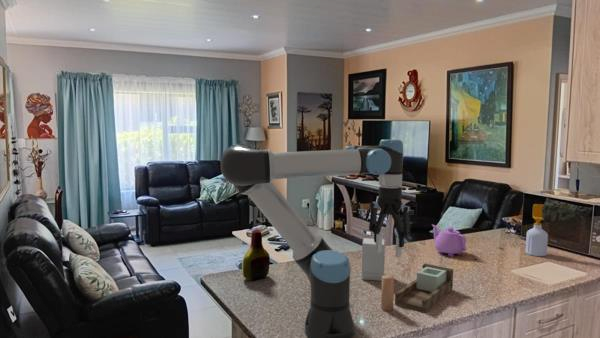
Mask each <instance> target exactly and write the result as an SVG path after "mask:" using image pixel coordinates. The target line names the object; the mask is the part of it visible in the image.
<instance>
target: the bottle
mask: <svg viewBox="0 0 600 338" xmlns="http://www.w3.org/2000/svg"><path fill="white" fill-rule="evenodd" d="M250 238H251V239H250V247H249V248H248V250H247V251H246V252H245V253H244V255H243V258H242V262H241V263H242V264H241V270H242V273H241V275H242V276H243V277H244V279H245V280H248V281H255V280H256V281H257V280H259V279H260V280H261V279H264V278H265V279H266V277H267V276H268V275H269V273H270V264H271V261H270V260H271V258H270V253H269V251H267V250H266V249H265V248H264V246H263V235H262V232H261V229H258V228H256V229H253V230H252V231H251V236H250Z"/></svg>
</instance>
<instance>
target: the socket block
mask: <svg viewBox="0 0 600 338" xmlns="http://www.w3.org/2000/svg"><path fill="white" fill-rule="evenodd" d="M446 272H447V271H445V270H441V269H436V268H431V267H425V268H423V267H422V268H421V269H420V270H419V271H417V273H416V279H417V287H416V288H417V289H421V290H425V291H429V292H433V291H435V290H436V289H437V288H439V287H440V286H441V285H442V284H444V283H445V282H446Z"/></svg>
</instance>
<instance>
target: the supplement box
mask: <svg viewBox="0 0 600 338" xmlns="http://www.w3.org/2000/svg"><path fill="white" fill-rule="evenodd" d="M385 248H386V240H385V239H383V238H382V252H380V253H376V243H375V242H374V238H367V237H366V238H365V237H364V238H363V240H362V251H361V253H362V254H361V280H366V281H376V282H377V281H380V282H382V276H384V275H385V259H386V258H385V257H386V256H385V255H386V254H385V253H386V249H385Z"/></svg>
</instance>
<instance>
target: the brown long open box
mask: <svg viewBox="0 0 600 338" xmlns="http://www.w3.org/2000/svg"><path fill="white" fill-rule="evenodd" d="M425 267H431V268H436V269H441V270H445V271H447V272H446V282H445V283H444V284H442V285H441V286H440V287H439V288H437V289H436V290H435V291H433V292H429V291H425V290H421V289H417V288H416V287H417V278H416V279H415V280H413V281H411V282H410V283H408V284H407V285H406V286H404V287H403V288H401V289H399V290H398V291H396V292H395V293H394V304H395V305H396V306H401V307H403V308H407V309H411V310H415V311H418V312H422V313H427V312H428V311H429V310H430V309H432V308H433V307H434V306H435V305H436V304H438V303H439V302H440V301H441V300H442V299H444V298H445V297H446V296H447V295H448V294H449V293H451V292H452V291H453V281H454V280H453V279H454V269H453V268H449V267H448V268H447V267H444V266H443V267H442V266H438V265H434V264H429V263H424V264H422V269H423V268H425Z"/></svg>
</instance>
